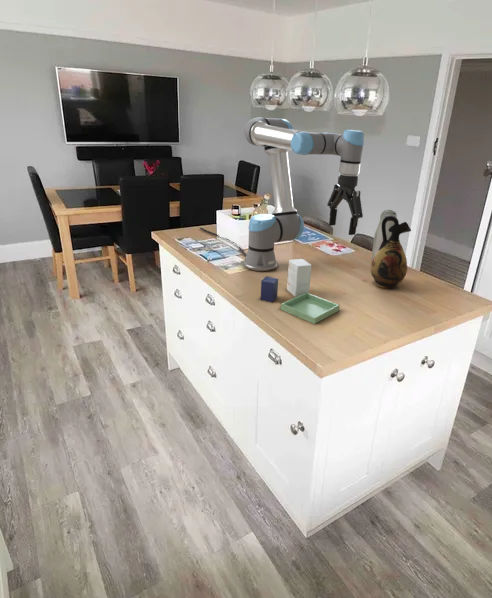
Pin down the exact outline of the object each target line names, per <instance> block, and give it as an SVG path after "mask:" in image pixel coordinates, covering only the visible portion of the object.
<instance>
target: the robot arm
mask: <svg viewBox="0 0 492 598" xmlns="http://www.w3.org/2000/svg"><path fill="white" fill-rule="evenodd" d="M243 132H244V133H243V135H244V138H245V140H246V141H247V142H248V143H249V144H250V145H252V146H256V147H263V148H264V153H265V154H266V155H268V162H269V171H270V178H271V187H272V195H273V204H274V210H273V211H272V213H258V214H254V215H252V216H251V217H250V219H249V221H248V249H247V252H245V251H244V250H243V249H242V247H241V246H240V247H241V248H240V247H238V249H239V251H240V252H241V253H242V254H243V255H244V257H245V258H244V259H243V266H244V268H246V269H248V270H250V271H253V272H271V271H275V270H276V269H277V267H278V260H277V259H276V253H275V244H276V243H282V242H292V241H294V240H295V241H296V240H297V239H300V237H301V236H302V235H303V232H304V230H305V223H304V222H305V221H304V218H302V216H301V215H300V214H298V210H297V208H295V207H294V201H293V191H292V182H291V173H290V163H289V154H288V153H289V152H290V151H291V152H293V153H294V154H296V155H300V156H307V155H332V156H339V157H340V161H339V168H338V173H339V174H338V176H337V184H334V185H333V190H332V192H331V195H330V197H329V199H328V201H327V203H326V204H327V207H329V220H328V226H329V227H330V226H336V225H337V224H336V222H337V215H338V207H339V205H340V203H341V202H342V201H343V200H344V201H346V203H348V207H349V211H350V214H351V217H350V220H349V228H348V236H355V235H356V232H357V227H358V224H359V219H362V218H363V217H364V216H363V207H362V200H361V190H356V187H357V186H358V185H359V174H360V170H361V163H362V162H361V161H362V156H363V149H364V145H365V143H364V141H365V133H364V131H362V130H355V129H344V131H343V134H340V133H334V132H330V131H329V132H310V131H309V132H308V131H302V130H297V129H294V127H293V125H292V123H291V122H290V121H289V120H288V119H285V118H279V117H276V118H275V117H273V118H272V117H254V118H251V119H250V120H249V121H247V123H246V124H245V127H244V130H243ZM199 229H200V230H201V231H204V232H206V233H208V234H211V235H212V236H216V237H218V236H217V234H218V233H215V232H212V231H209V230H207V229H205V228H203V227H199Z"/></svg>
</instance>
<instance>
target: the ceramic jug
mask: <svg viewBox="0 0 492 598" xmlns="http://www.w3.org/2000/svg"><path fill="white" fill-rule="evenodd" d="M387 221H393V222H394V225H393V226H391V227H390V228H389V232H391V233H392V234H391V236H390V238H389V239H388V240H387V235H386V222H387ZM381 228H382V236H383V242H382V244H381V245H380V248H379V250H378V251H377V253H376V254H375V256H374V258H373V260H372V259H371V262H370V266H369V267H370V268H369V269H370V274H371V277H372V278H373V279H374V285H376V286H377V287H378V288H382V289H385V290H394V289H397V285H398V284H400V283H401V282H402V281H404V279H405V277H406V275H407V271H408V260H407V255H406V253H405V250H404V248H403V246H402V243H401V241H400V235H401V234H404V233H410V232H412V229H411V227H410V226H409V223H407V221H403V222H401V223H400V222H399V219H398V217H397V218H396V217H394V216H387V217H385V218H384V219H383V221H382V227H381Z"/></svg>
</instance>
